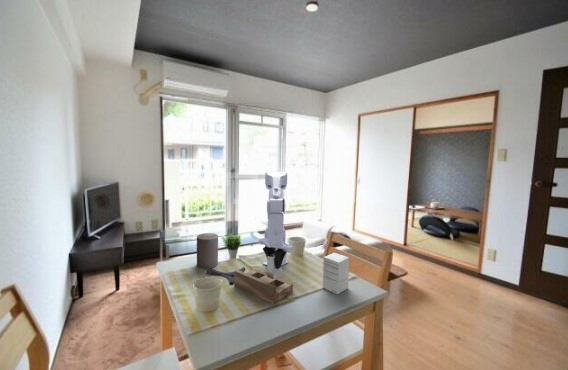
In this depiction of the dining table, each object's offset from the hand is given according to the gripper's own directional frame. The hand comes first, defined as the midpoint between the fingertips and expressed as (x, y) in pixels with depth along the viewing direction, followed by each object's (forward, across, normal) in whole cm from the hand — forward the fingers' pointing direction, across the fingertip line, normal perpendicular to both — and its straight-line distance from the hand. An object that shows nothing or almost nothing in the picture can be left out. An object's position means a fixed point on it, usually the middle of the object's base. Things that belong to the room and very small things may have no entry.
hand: (274, 266), depth 98 cm
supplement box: (+10, +16, +18) cm, 26 cm away
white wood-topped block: (+3, 0, 0) cm, 3 cm away
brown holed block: (+10, -5, 0) cm, 11 cm away
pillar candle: (+10, -40, -1) cm, 41 cm away
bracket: (+11, -26, -3) cm, 28 cm away
